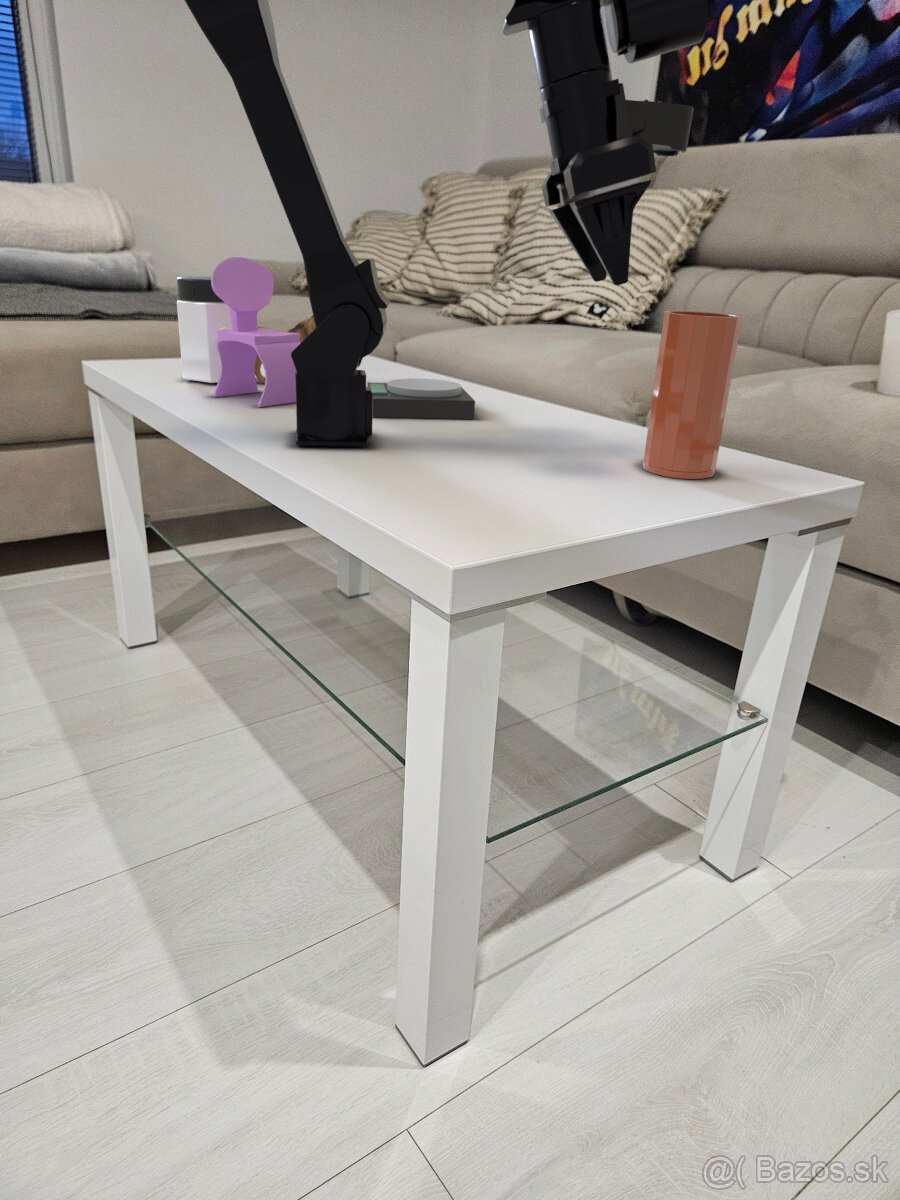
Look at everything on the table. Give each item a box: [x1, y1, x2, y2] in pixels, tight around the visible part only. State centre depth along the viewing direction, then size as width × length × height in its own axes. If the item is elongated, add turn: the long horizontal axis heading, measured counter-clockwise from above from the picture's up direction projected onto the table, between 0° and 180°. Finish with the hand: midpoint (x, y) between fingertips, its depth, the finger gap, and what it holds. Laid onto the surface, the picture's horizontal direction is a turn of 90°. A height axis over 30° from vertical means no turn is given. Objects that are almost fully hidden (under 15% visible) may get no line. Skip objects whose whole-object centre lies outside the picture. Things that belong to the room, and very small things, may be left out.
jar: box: [176, 275, 232, 384], centre depth 104 cm, size 9×8×12 cm
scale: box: [367, 377, 476, 420], centre depth 93 cm, size 11×11×3 cm
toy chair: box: [210, 256, 300, 408], centre depth 92 cm, size 8×9×15 cm
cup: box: [642, 310, 743, 480], centre depth 70 cm, size 6×6×13 cm
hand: (610, 282), depth 72 cm, fingers open, 9 cm apart
